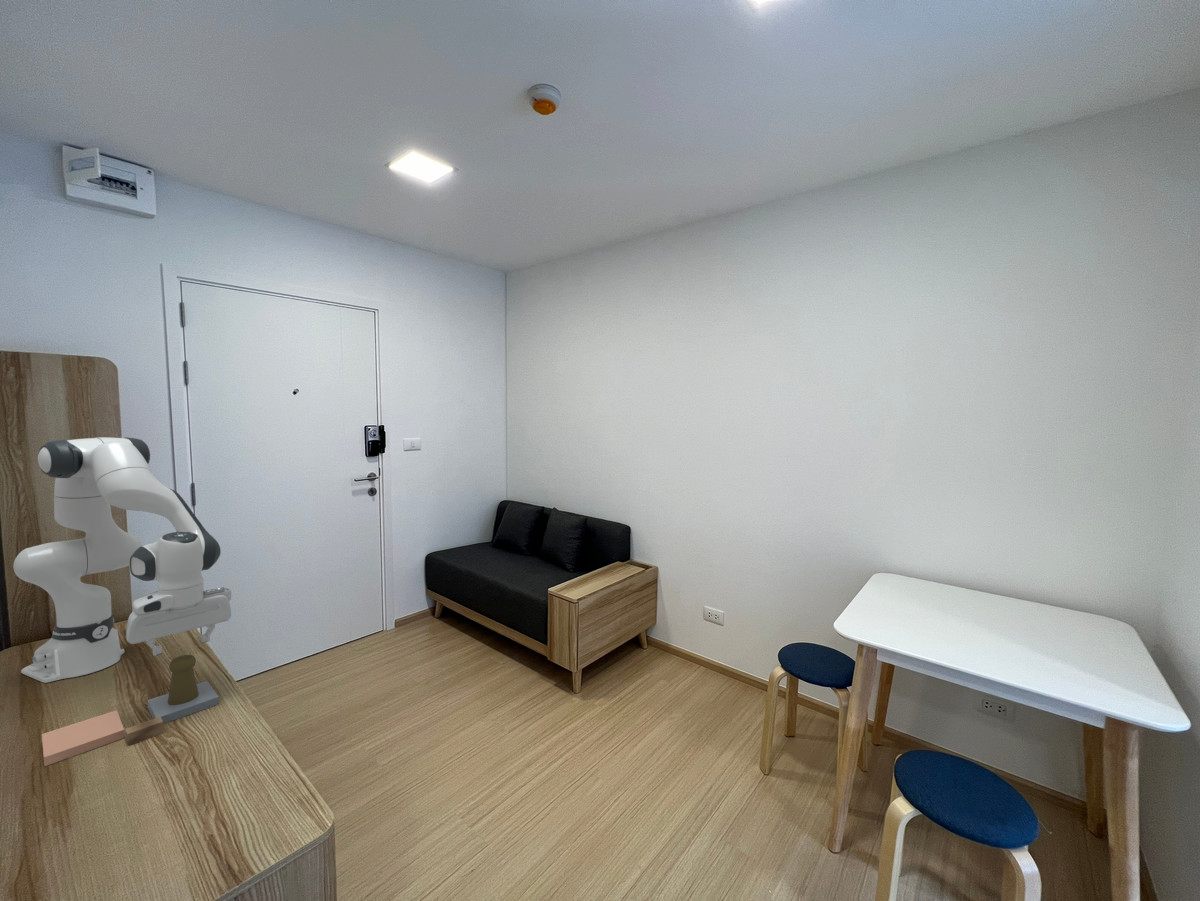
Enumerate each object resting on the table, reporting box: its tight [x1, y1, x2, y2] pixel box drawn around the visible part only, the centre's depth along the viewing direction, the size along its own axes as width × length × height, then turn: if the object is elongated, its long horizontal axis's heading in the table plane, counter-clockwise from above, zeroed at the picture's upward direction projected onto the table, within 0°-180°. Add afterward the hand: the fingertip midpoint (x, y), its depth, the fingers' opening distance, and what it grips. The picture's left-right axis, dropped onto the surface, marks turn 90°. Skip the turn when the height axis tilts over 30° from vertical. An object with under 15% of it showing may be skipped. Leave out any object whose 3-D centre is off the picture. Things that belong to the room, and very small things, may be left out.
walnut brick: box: [124, 717, 164, 747], centre depth 109 cm, size 6×3×3 cm, turn 142°
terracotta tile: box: [41, 709, 125, 767], centre depth 108 cm, size 12×12×2 cm
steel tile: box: [147, 680, 220, 725], centre depth 121 cm, size 12×12×2 cm
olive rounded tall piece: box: [168, 654, 199, 705], centre depth 121 cm, size 6×6×11 cm
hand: (182, 647), depth 121 cm, fingers open, 8 cm apart
